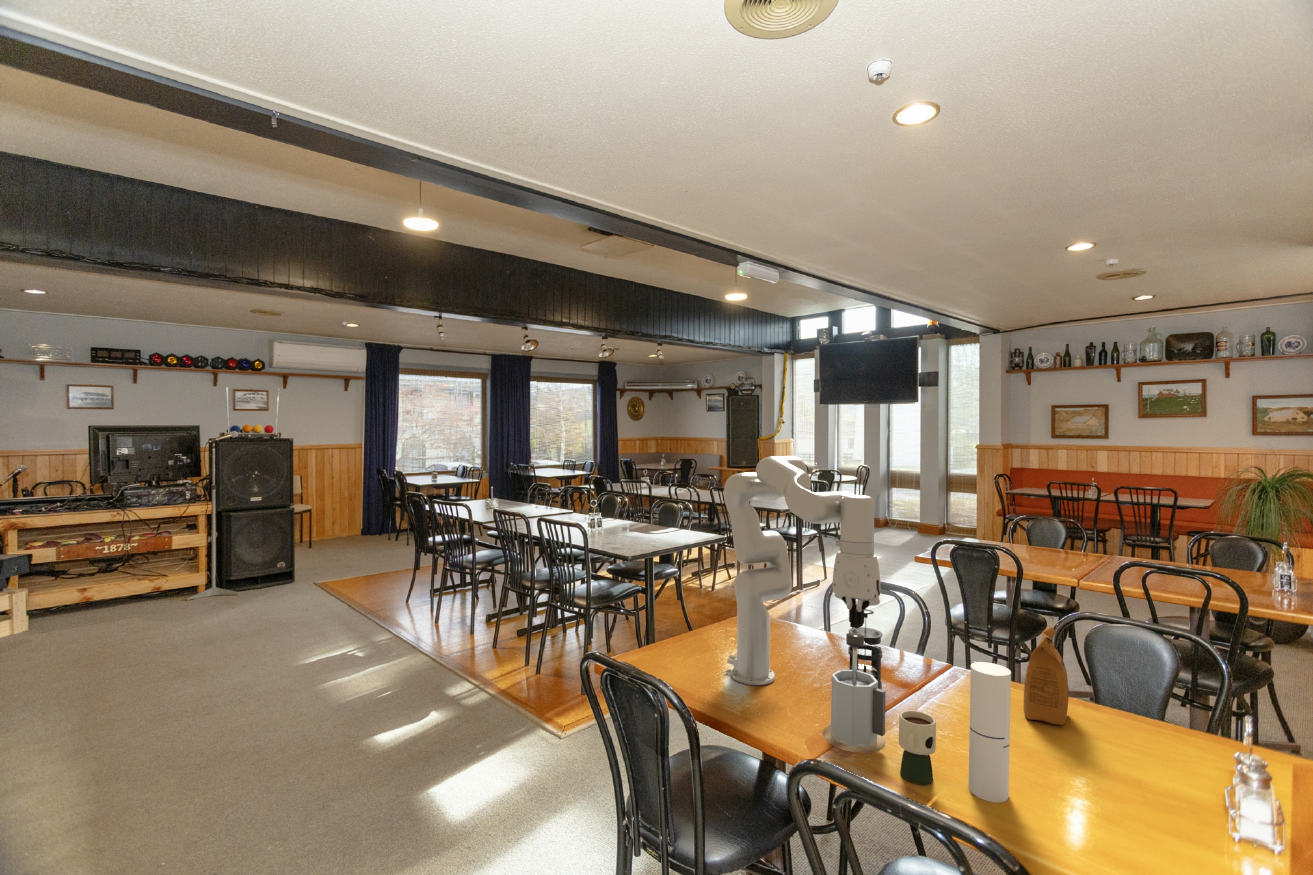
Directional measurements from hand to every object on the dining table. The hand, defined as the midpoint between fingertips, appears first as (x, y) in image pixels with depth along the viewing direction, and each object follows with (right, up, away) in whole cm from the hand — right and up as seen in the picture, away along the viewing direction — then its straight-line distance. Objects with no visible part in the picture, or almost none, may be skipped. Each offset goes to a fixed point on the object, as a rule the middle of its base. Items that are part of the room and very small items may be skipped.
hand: (856, 626), depth 144 cm
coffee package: (+53, -28, +14) cm, 61 cm away
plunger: (0, -15, +1) cm, 15 cm away
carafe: (0, -26, 0) cm, 26 cm away
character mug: (+7, -27, -16) cm, 32 cm away
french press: (+11, -27, +27) cm, 40 cm away
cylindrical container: (+20, -28, -20) cm, 39 cm away
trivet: (0, -27, +1) cm, 27 cm away
